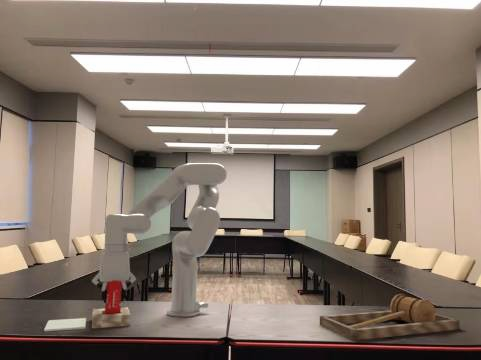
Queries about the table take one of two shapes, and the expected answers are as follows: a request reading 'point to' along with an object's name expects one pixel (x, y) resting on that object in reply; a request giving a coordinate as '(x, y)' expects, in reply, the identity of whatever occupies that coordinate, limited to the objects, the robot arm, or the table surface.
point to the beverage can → (113, 297)
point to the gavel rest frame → (338, 326)
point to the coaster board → (65, 324)
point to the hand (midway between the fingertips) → (113, 301)
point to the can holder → (110, 318)
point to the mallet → (405, 311)
